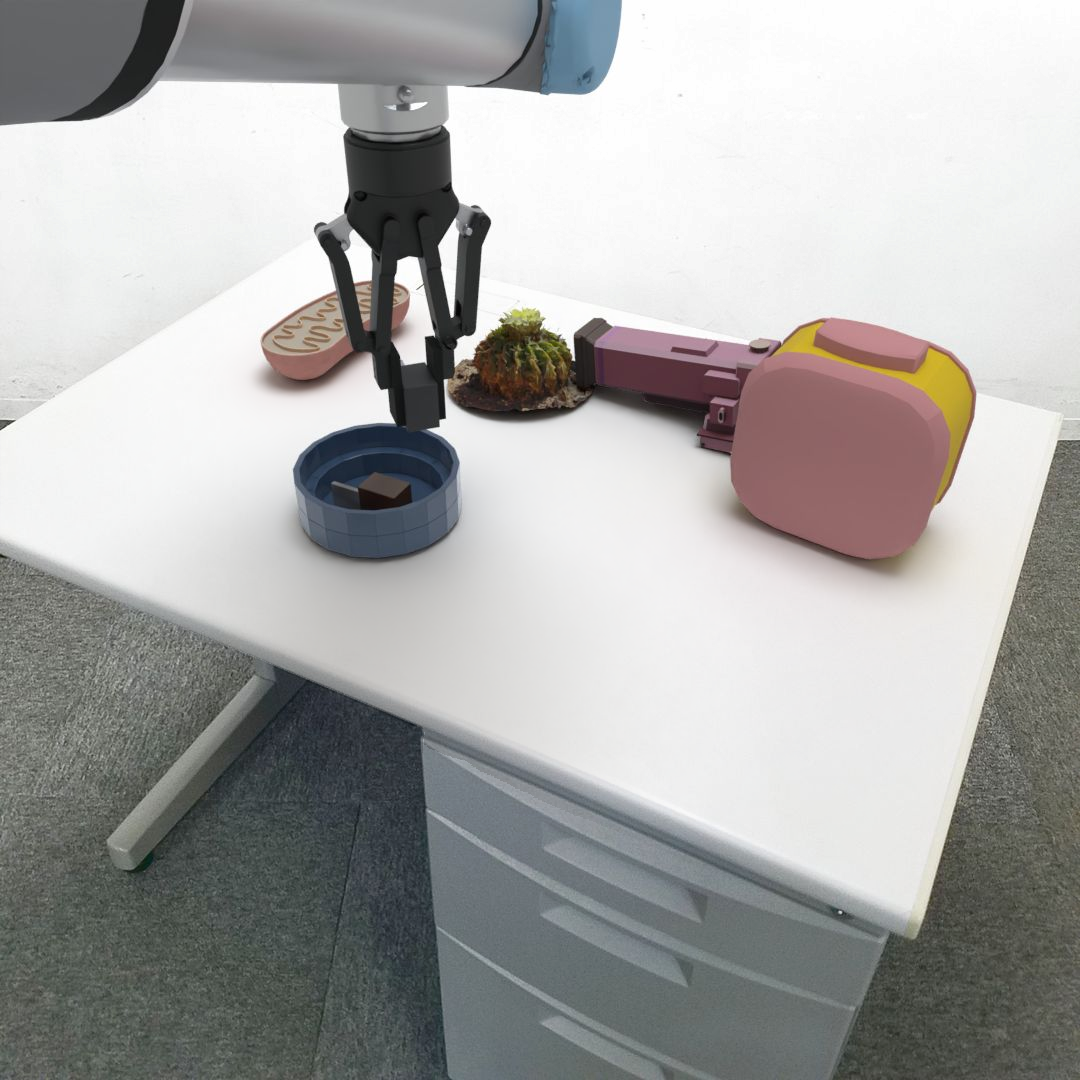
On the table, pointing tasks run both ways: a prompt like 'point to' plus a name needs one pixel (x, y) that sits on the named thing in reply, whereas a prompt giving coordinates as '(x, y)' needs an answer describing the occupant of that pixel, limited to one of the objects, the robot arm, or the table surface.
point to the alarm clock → (851, 435)
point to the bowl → (389, 454)
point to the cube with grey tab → (419, 397)
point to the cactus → (518, 368)
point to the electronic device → (672, 371)
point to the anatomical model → (321, 333)
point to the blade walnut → (373, 493)
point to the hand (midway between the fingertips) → (417, 414)
